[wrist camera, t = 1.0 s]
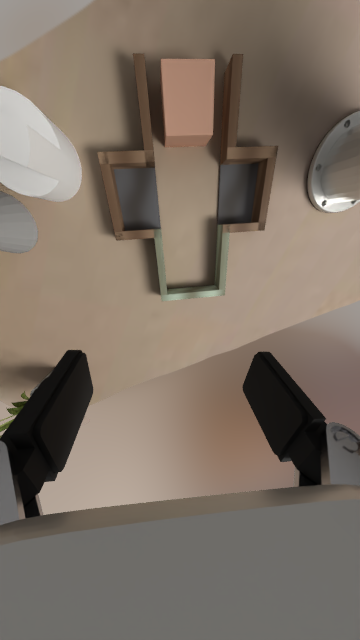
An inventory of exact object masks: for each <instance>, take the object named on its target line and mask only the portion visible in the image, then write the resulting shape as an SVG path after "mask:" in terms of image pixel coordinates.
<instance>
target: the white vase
mask: <svg viewBox="0 0 360 640" xmlns="http://www.w3.org/2000/svg"><path fill="white" fill-rule="evenodd" d="M81 180H82V168H81V164H80V160H79V157H78V154H77V152H76V150H75V148H74V146H73V144H72V143H71V142H70V140H69V139H68V137H67V136H66V135H65V134H64V133H63V132H62V131H61V130H60V129H59V128H58V127H57V126H56V125H55V124H54V123H53V122H52V121H51V120H50V119H49V118H48V117H47V116H45V115H44V114H43V113H42V112H41V111H40V110H39V109H38V108H37V107H36V106H35V105H34V104H33V103H32V102H31V101H30V100H29V99H27V98H26V97H24V96H23V95H21V94H20V93H18V92H17V91H15V90H12V89H9V88H6V87H3V86H0V182H1V183H2V184H4V185H5V186H6V187H7V188H9V189H11V190H13V191H15V192H17V193H19V194H23V195H27V196H31V197H36V198H40V199H45V200H50V201H55V202H60V201H66V200H68V199H71V198H72V197H73V196H74V195H75V194H76V193H77V191H78V189H79V188H80V184H81Z"/></svg>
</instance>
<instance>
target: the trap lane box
mask: <svg viewBox="0 0 360 640" xmlns="http://www.w3.org/2000/svg"><path fill="white" fill-rule="evenodd" d="M133 58H134V67H135V75H136V84H137V92H138V101H139V110H140V118H141V127H142V136H143V144H144V150H139V151H109V152H97V153H98V158H99V163H100V167H101V172H102V177H103V181H104V186H105V191H106V195H107V200H108V205H109V209H110V214H111V219H112V223H113V228H114V233H115V237H116V240H131V239H145V238H154V239H155V248H156V257H157V265H158V274H159V282H160V291H161V300H162V301H169V300H179V299H190V298H200V297H211V296H221V295H225V286H226V273H227V260H228V247H229V233H232V232H246V231H261V230H264V229H265V223H266V217H267V211H268V205H269V199H270V193H271V186H272V180H273V174H274V168H275V162H276V156H277V150H278V146H258V147H236V142H237V129H238V115H239V102H240V89H241V76H242V63H243V54H233V55H232V57H231V60H230V62H229V64H228V66H227V69H226V71H225V73H224V88H223V111H222V133H221V156H220V178H219V200H218V223H217V245H216V268H215V285H210V286H199V287H188V288H177V289H167V286H166V275H165V265H164V255H163V244H162V234H161V226H160V216H159V205H158V195H157V185H156V174H155V161H154V151H153V141H152V130H151V120H150V110H149V99H148V89H147V78H146V68H145V58H144V54H133Z"/></svg>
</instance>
